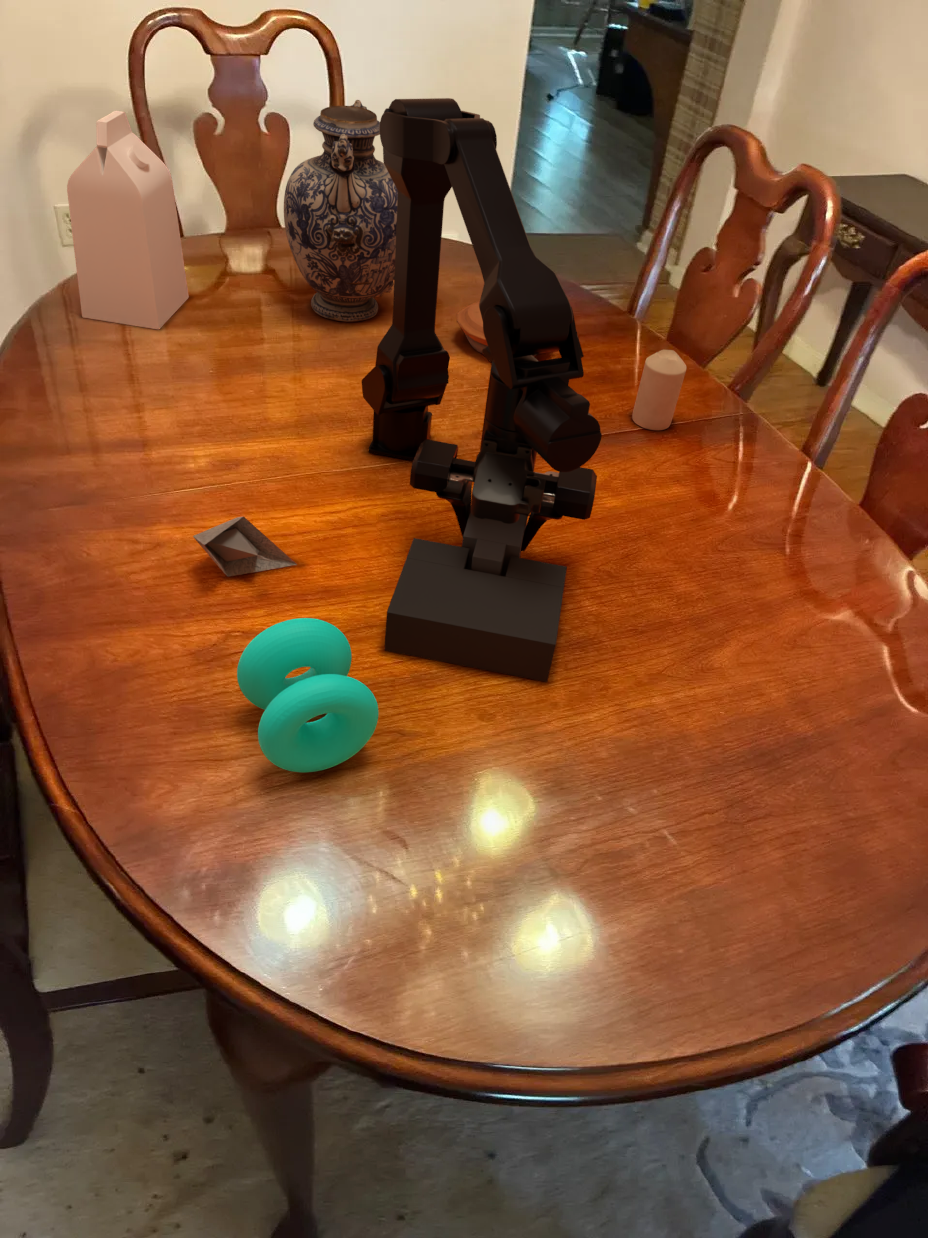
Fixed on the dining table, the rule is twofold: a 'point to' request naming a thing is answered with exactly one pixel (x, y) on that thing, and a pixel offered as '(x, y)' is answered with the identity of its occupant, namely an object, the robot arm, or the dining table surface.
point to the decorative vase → (344, 217)
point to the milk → (126, 231)
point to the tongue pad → (493, 543)
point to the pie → (473, 326)
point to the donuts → (306, 695)
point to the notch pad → (476, 611)
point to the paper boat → (241, 548)
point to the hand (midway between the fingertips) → (493, 543)
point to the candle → (659, 390)
